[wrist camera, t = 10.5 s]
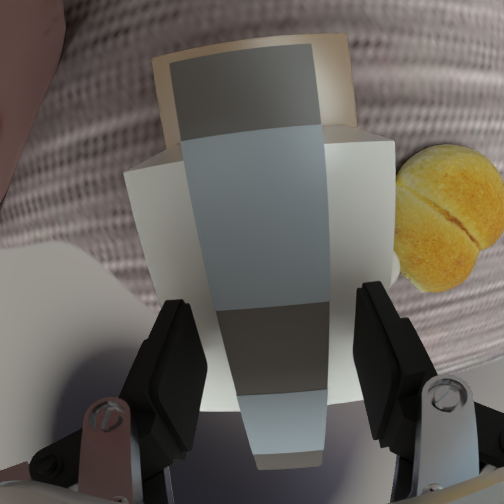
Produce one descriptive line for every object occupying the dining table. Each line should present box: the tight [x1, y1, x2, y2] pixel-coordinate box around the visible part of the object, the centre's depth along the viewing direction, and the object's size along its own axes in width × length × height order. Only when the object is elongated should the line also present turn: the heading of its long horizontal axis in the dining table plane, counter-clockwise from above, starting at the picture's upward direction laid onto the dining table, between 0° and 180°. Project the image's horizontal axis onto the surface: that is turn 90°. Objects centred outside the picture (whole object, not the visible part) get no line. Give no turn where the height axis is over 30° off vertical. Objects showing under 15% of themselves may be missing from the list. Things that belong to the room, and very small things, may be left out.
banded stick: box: [169, 44, 330, 470], centre depth 12 cm, size 16×3×6 cm, turn 7°
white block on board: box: [123, 33, 400, 411], centre depth 14 cm, size 20×10×8 cm, turn 7°
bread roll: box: [393, 144, 504, 293], centre depth 15 cm, size 8×9×4 cm
